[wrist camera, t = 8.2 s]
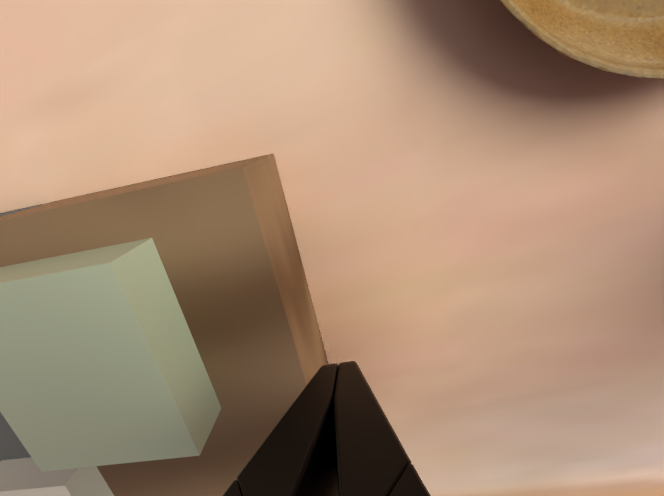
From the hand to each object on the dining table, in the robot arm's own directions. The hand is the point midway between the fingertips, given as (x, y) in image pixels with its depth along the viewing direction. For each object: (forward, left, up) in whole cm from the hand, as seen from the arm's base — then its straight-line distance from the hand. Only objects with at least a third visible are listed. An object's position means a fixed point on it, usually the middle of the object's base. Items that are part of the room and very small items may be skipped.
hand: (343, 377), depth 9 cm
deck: (-6, +7, -7) cm, 12 cm away
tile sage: (0, +9, -3) cm, 9 cm away
